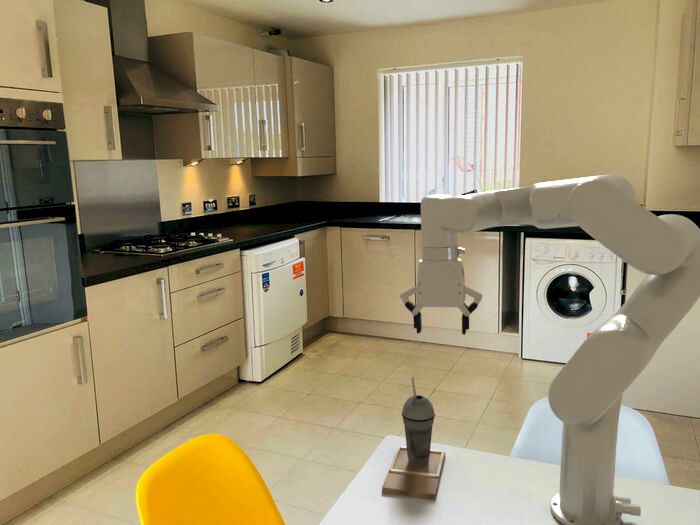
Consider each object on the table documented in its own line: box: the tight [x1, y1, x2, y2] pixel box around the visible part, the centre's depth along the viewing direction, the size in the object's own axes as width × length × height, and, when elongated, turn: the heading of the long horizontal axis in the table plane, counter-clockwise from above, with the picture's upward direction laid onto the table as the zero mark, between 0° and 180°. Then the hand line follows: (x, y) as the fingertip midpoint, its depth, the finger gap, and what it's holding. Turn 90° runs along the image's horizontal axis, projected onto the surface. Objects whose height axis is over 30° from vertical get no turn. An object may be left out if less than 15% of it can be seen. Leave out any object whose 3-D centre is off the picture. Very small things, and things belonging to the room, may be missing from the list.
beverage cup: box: [401, 376, 436, 468], centre depth 129 cm, size 7×7×20 cm
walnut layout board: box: [381, 445, 446, 500], centre depth 128 cm, size 11×17×2 cm, turn 164°
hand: (441, 332), depth 126 cm, fingers open, 9 cm apart
